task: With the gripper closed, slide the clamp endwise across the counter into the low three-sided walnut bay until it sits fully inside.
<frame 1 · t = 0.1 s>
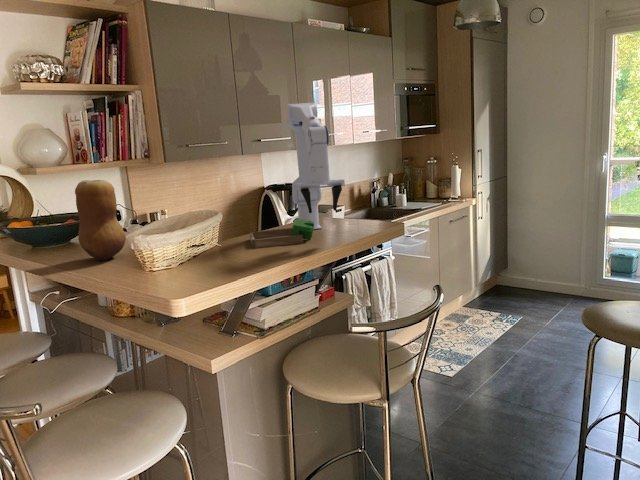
hand: (322, 211, 160), 10 cm above the countertop, tool pointing down, fingers open, 7 cm apart
butternut squash: (105, 259, 163), on the countertop
bay: (275, 241, 170), on the countertop
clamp: (303, 239, 171), on the countertop
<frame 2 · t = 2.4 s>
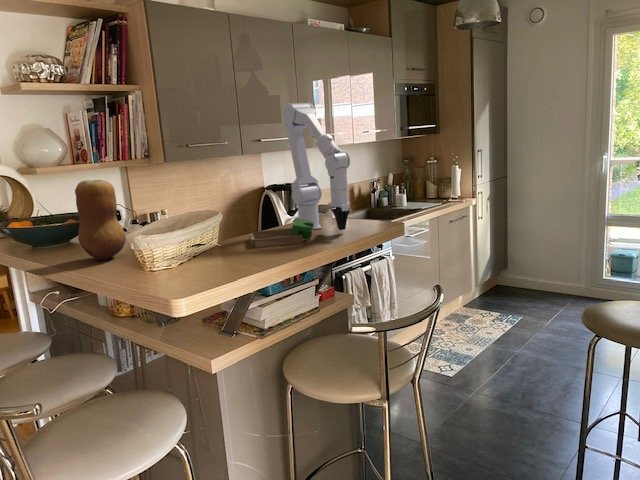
hand: (341, 229, 174), 1 cm above the countertop, tool pointing down, fingers closed
nothing on the countertop moved.
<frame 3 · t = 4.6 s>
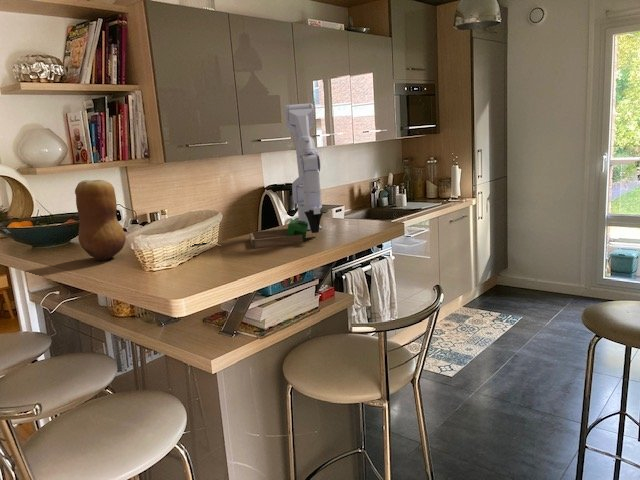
hand: (315, 232, 172), 1 cm above the countertop, tool pointing down, fingers closed
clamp: (297, 239, 171), on the countertop, touching bay, gripper
everything else where it was.
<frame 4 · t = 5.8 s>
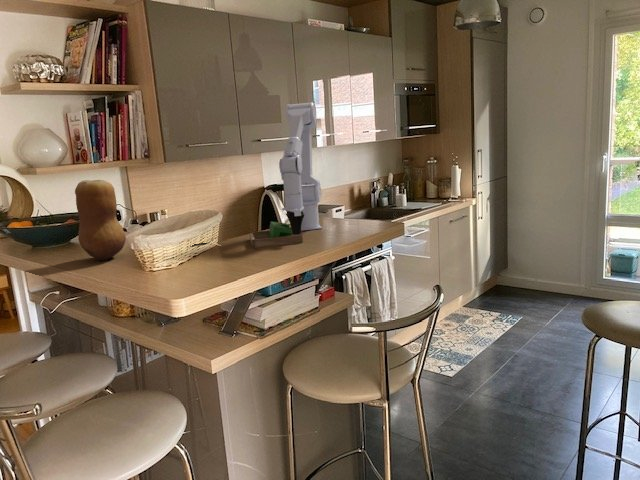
hand: (296, 234, 171), 1 cm above the countertop, tool pointing down, fingers closed
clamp: (280, 241, 170), on the countertop, touching gripper
everything else where it was.
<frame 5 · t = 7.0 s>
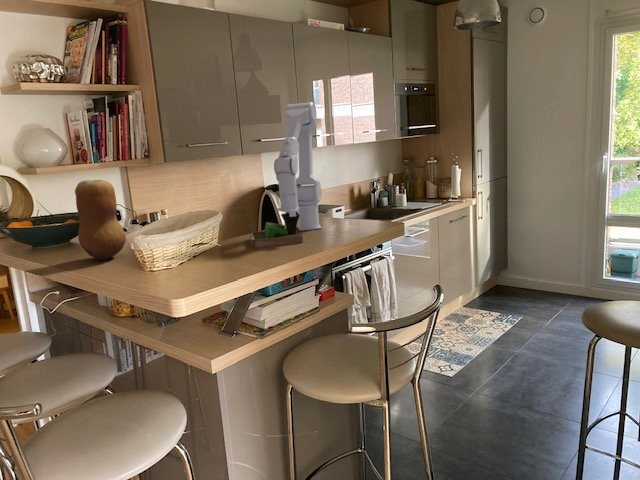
hand: (291, 235, 171), 1 cm above the countertop, tool pointing down, fingers closed
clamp: (275, 242, 170), on the countertop
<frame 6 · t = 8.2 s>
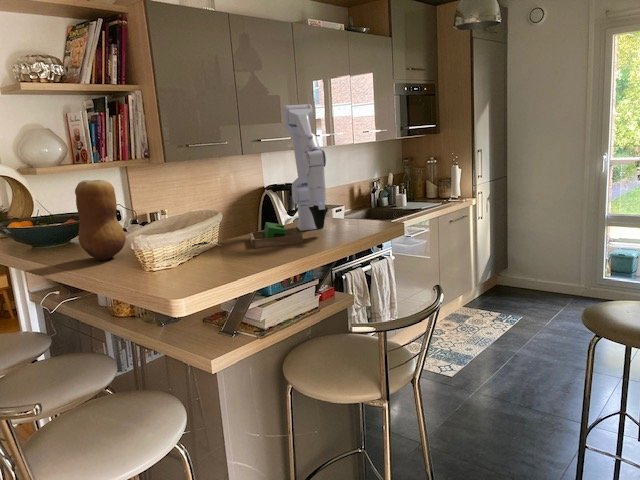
hand: (319, 227, 172), 3 cm above the countertop, tool pointing down, fingers closed
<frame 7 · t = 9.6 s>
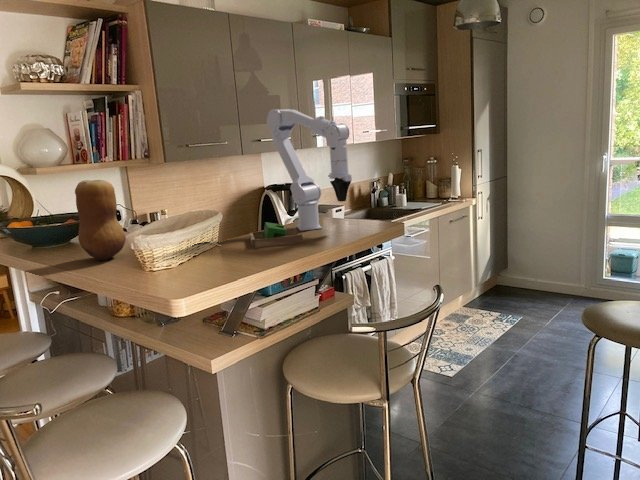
hand: (341, 201, 176), 10 cm above the countertop, tool pointing down, fingers closed
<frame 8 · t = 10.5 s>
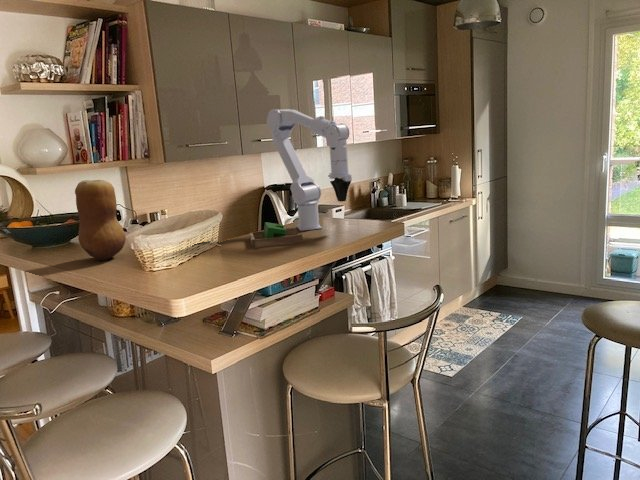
hand: (341, 201, 176), 10 cm above the countertop, tool pointing down, fingers closed
at the end: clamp inside the target area on the bay (2.2 cm from its centre), point 0.0 cm above the bay's base; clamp moved 9.3 cm from its start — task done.
